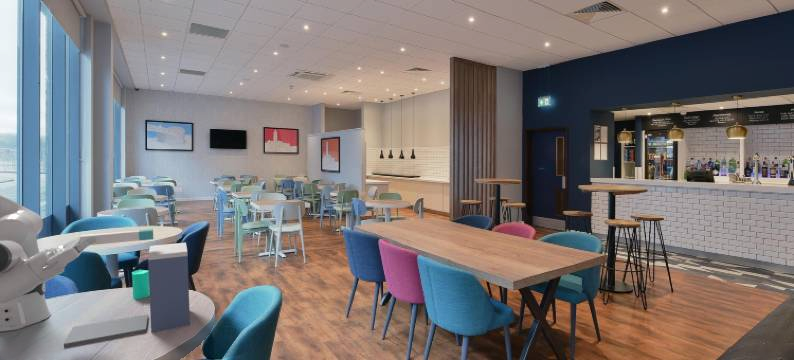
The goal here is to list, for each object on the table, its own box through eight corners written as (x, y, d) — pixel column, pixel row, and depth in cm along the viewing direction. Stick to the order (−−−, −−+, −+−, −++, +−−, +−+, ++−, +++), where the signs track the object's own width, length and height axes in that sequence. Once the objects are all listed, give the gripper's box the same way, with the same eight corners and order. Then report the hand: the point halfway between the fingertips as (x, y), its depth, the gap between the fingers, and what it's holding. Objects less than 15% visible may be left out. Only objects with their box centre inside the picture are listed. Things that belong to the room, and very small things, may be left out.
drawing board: (63, 347, 124) (63, 343, 124) (73, 330, 136) (73, 326, 136) (146, 332, 134) (145, 328, 134) (148, 317, 146) (147, 314, 146)
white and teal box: (80, 246, 129) (79, 236, 128) (82, 243, 132) (81, 234, 131) (153, 239, 139) (152, 230, 138) (153, 237, 142) (153, 229, 141)
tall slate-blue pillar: (151, 332, 134) (148, 255, 132) (153, 315, 148) (150, 246, 146) (189, 325, 140) (187, 251, 138) (188, 309, 154) (185, 242, 152)
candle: (131, 296, 168) (129, 268, 167) (147, 292, 172) (146, 265, 172) (135, 300, 164) (133, 271, 163) (151, 296, 168) (150, 268, 167)
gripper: (32, 263, 116) (83, 235, 122) (49, 249, 134) (93, 225, 140) (47, 280, 118) (97, 252, 124) (62, 263, 136) (105, 239, 141)
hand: (95, 237), depth 132 cm, fingers closed on white and teal box, 3 cm apart
